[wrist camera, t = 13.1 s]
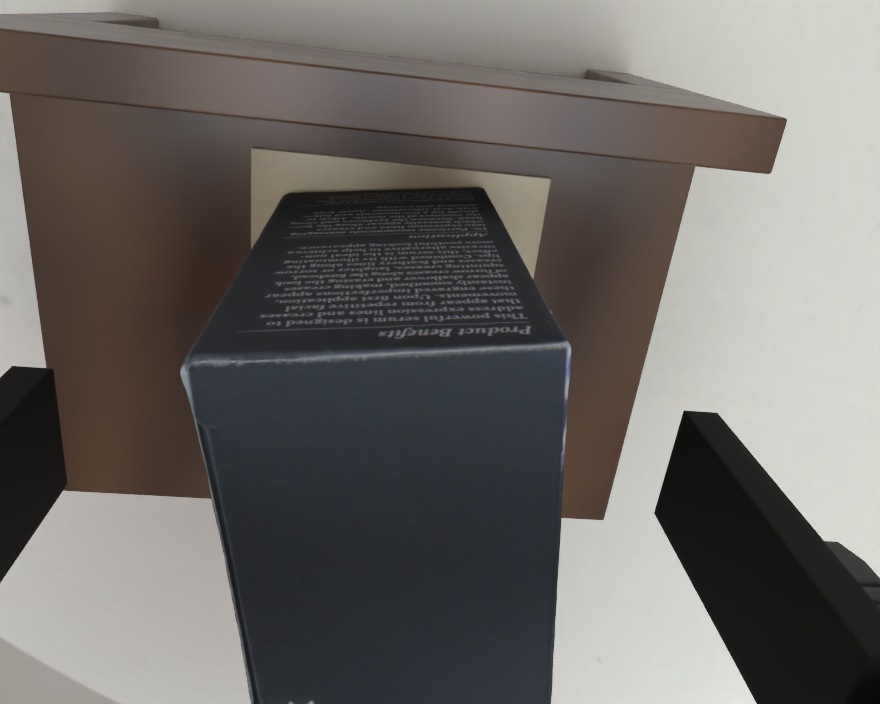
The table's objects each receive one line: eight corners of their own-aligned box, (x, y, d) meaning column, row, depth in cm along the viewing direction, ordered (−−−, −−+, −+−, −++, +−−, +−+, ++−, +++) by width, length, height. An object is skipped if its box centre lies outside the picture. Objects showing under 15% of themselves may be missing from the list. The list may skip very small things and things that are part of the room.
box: (487, 428, 23) (554, 729, 13) (307, 437, 23) (245, 750, 13) (489, 179, 19) (583, 344, 10) (278, 186, 19) (166, 363, 10)
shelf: (136, 382, 30) (0, 580, 20) (108, 11, 24) (-108, 15, 14) (559, 411, 32) (639, 607, 21) (630, 74, 26) (788, 118, 15)
